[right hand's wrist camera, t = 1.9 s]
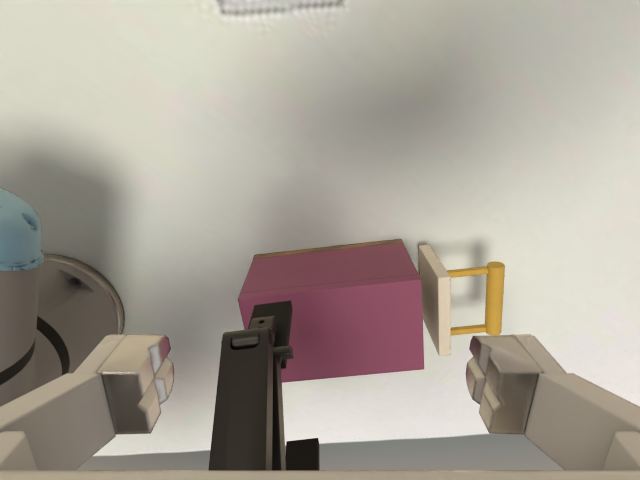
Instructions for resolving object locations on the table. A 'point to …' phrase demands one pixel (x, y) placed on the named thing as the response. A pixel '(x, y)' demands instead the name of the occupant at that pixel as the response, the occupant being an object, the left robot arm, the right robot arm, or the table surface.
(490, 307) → the drawer
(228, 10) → the table surface
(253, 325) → the left robot arm
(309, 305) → the cabinet
